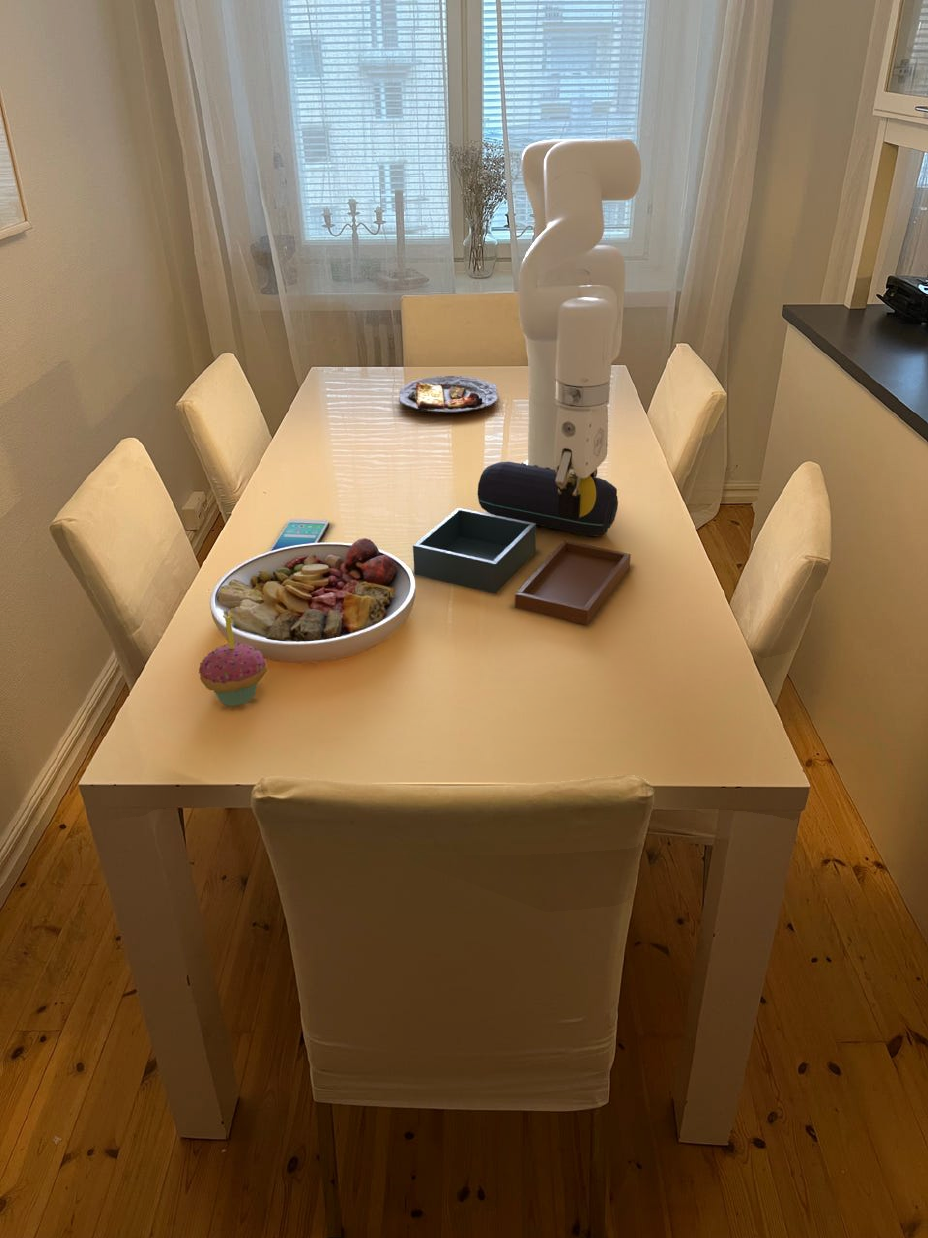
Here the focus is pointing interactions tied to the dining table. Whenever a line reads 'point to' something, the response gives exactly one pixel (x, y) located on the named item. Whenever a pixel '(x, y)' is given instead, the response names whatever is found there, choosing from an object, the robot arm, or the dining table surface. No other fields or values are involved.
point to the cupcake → (233, 670)
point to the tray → (573, 582)
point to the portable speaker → (541, 498)
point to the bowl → (315, 600)
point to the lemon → (586, 494)
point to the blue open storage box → (475, 550)
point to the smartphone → (301, 533)
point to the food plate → (448, 394)
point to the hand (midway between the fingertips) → (576, 508)
